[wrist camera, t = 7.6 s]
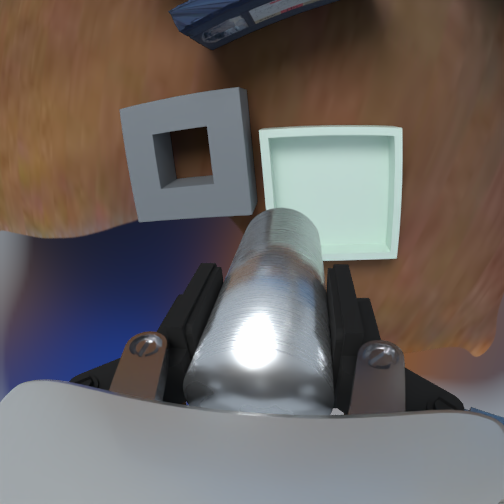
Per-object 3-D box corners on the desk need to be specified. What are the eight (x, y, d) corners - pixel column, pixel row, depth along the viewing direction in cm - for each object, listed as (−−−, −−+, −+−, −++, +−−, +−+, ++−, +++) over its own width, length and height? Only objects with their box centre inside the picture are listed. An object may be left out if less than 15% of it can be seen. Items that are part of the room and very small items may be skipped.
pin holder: (246, 90, 29) (238, 87, 25) (257, 201, 34) (251, 214, 30) (139, 108, 31) (119, 109, 27) (155, 208, 36) (139, 222, 32)
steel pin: (321, 207, 15) (343, 351, 7) (319, 278, 17) (325, 442, 8) (240, 208, 16) (168, 343, 7) (246, 277, 18) (197, 433, 9)
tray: (393, 126, 29) (402, 127, 26) (389, 246, 34) (396, 258, 32) (262, 128, 31) (258, 130, 28) (272, 250, 36) (270, 262, 34)
